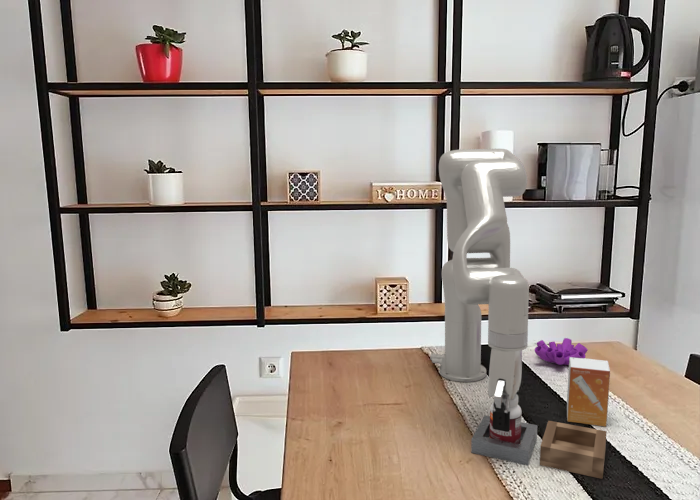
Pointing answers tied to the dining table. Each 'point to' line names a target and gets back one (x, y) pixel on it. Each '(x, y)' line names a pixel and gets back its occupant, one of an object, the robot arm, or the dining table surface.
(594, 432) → the tray
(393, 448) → the dining table surface
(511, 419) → the pill bottle
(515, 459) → the socket block
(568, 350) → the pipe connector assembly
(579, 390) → the small box
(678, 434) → the dining table surface
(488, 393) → the robot arm
